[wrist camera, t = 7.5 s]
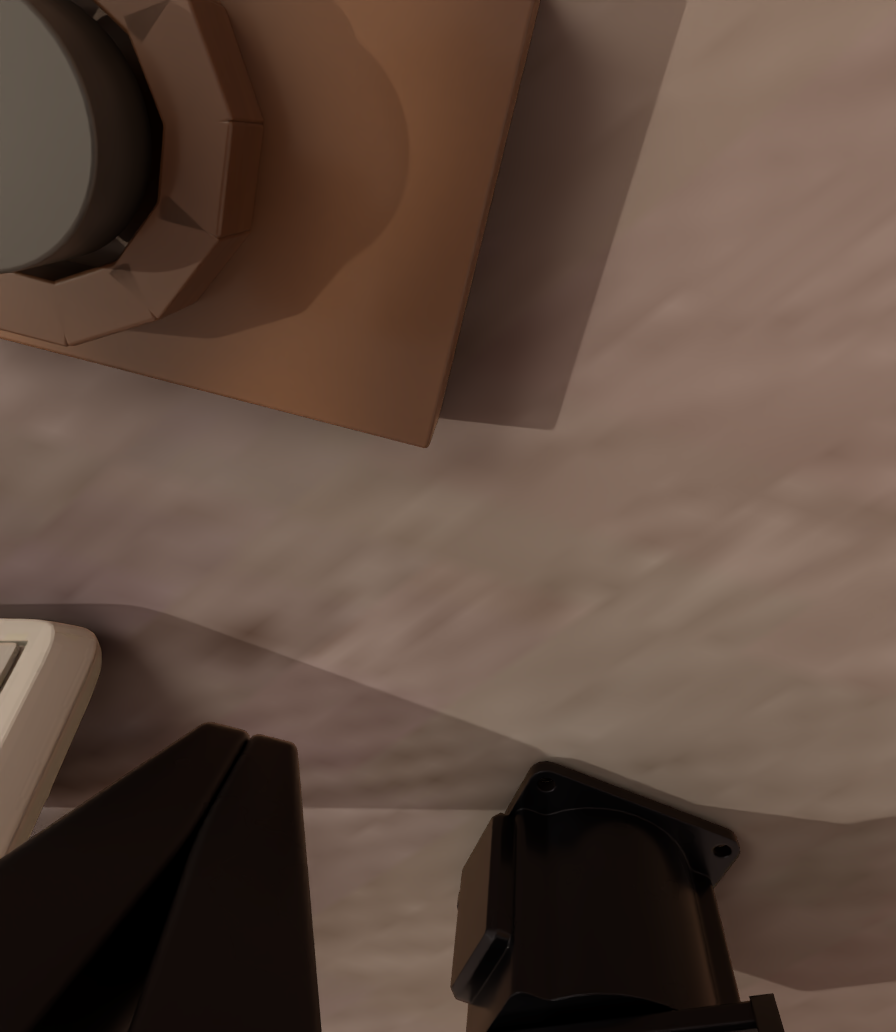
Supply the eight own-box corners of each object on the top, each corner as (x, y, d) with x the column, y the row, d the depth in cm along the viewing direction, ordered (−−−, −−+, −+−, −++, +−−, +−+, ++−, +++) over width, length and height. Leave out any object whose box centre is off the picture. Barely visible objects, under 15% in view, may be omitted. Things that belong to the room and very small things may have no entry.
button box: (543, -14, 16) (546, -63, 12) (438, 419, 19) (416, 481, 16) (-63, -175, 16) (-245, -274, 12) (-50, 292, 19) (-185, 326, 16)
